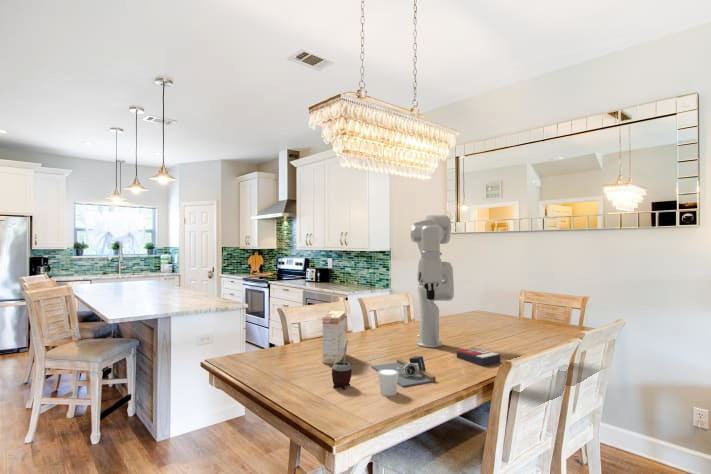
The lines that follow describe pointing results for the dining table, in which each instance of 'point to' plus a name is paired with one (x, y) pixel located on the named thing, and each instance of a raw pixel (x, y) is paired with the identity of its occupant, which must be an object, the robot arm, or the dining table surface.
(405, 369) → the watch
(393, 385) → the white cup
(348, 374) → the mate gourd
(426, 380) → the mat
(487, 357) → the calculator
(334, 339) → the coffeecake box
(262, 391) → the dining table surface
